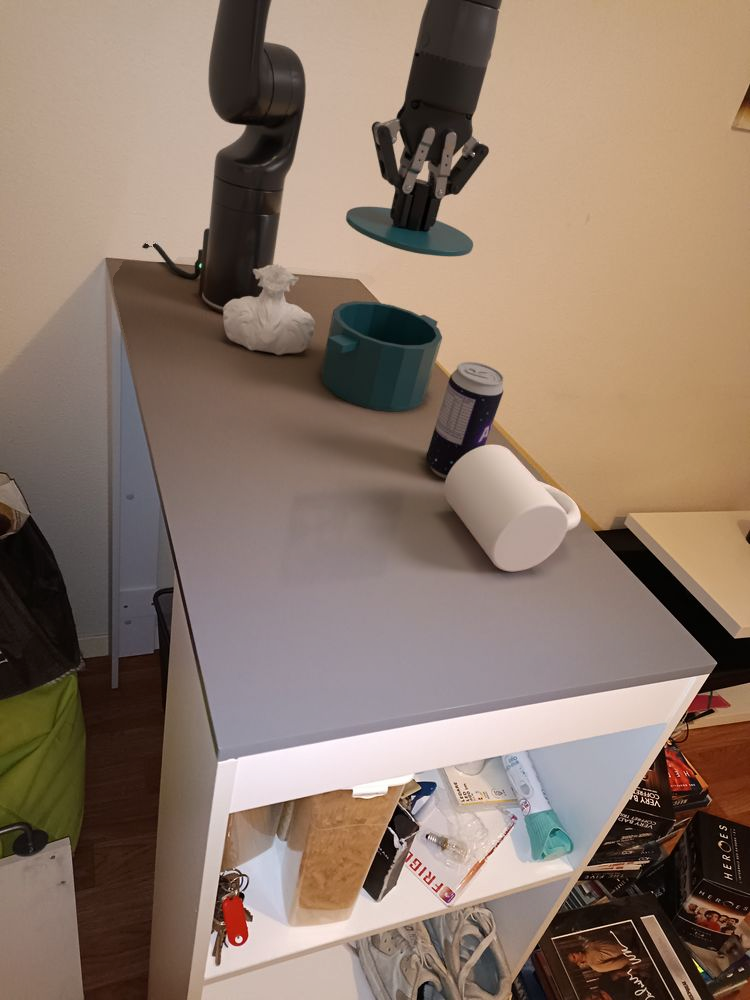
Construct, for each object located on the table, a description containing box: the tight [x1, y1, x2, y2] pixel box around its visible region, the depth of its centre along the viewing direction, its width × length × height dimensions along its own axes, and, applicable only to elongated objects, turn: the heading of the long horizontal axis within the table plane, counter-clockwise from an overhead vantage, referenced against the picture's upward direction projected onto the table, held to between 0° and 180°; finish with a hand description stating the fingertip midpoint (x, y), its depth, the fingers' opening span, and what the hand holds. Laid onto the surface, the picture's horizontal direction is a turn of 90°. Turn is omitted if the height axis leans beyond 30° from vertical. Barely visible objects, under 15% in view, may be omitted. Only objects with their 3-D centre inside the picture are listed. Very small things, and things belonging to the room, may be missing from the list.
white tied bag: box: [222, 263, 316, 356], centre depth 96 cm, size 12×8×11 cm
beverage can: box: [425, 361, 504, 480], centre depth 78 cm, size 6×6×12 cm
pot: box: [321, 300, 443, 412], centre depth 93 cm, size 14×19×8 cm
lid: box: [345, 178, 474, 257], centre depth 83 cm, size 15×15×6 cm
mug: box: [443, 444, 582, 573], centre depth 71 cm, size 12×10×8 cm
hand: (410, 226), depth 84 cm, fingers closed on lid, 2 cm apart
